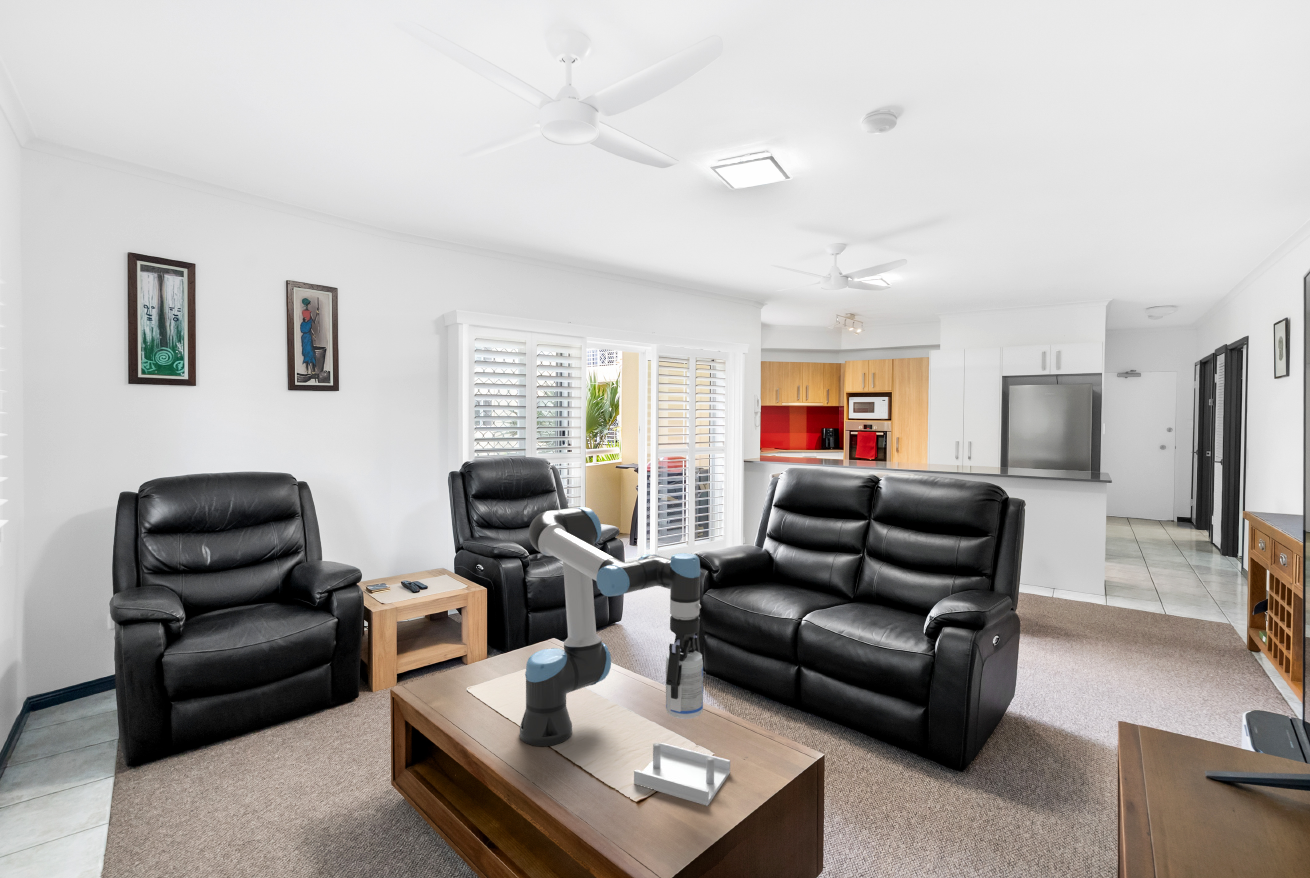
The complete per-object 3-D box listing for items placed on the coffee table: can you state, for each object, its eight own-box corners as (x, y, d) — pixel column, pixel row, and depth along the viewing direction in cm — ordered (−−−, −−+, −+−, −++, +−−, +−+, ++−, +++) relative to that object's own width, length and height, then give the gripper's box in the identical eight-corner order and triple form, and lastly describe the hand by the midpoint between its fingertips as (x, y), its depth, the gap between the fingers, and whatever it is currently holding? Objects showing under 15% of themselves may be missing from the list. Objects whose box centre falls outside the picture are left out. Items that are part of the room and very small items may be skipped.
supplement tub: (710, 714, 164) (711, 657, 163) (680, 724, 159) (680, 665, 158) (687, 700, 172) (688, 645, 171) (658, 709, 167) (658, 652, 166)
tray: (633, 784, 163) (634, 757, 163) (661, 754, 178) (661, 729, 177) (707, 805, 154) (707, 777, 154) (730, 772, 169) (730, 746, 169)
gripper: (680, 630, 153) (679, 723, 154) (714, 606, 173) (713, 688, 173) (652, 625, 156) (651, 716, 157) (688, 602, 176) (687, 683, 177)
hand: (683, 701), depth 165 cm, fingers closed on supplement tub, 9 cm apart
